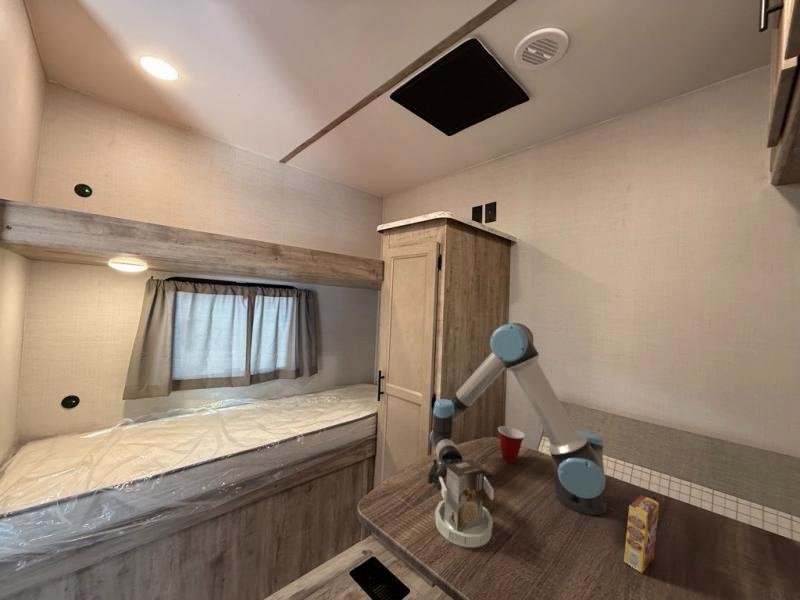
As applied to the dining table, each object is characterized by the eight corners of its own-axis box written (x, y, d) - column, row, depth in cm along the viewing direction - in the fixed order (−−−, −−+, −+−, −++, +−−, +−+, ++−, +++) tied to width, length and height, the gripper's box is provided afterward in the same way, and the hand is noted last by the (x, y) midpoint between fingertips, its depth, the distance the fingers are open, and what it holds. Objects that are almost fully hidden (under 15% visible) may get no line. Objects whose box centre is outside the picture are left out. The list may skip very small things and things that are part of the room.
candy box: (643, 576, 75) (647, 514, 74) (623, 563, 78) (626, 504, 78) (656, 560, 80) (659, 502, 80) (636, 548, 83) (639, 493, 83)
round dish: (479, 505, 97) (479, 496, 97) (501, 546, 81) (502, 535, 81) (430, 506, 95) (431, 497, 95) (443, 548, 79) (443, 537, 79)
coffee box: (467, 510, 93) (471, 458, 93) (482, 524, 87) (485, 469, 87) (443, 518, 89) (446, 464, 89) (456, 534, 83) (460, 476, 83)
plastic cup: (527, 467, 122) (529, 437, 122) (500, 465, 122) (502, 435, 122) (517, 453, 133) (519, 426, 133) (493, 451, 133) (494, 424, 133)
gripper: (482, 466, 107) (510, 507, 86) (413, 466, 105) (424, 509, 83) (483, 445, 107) (512, 481, 86) (414, 444, 105) (426, 482, 83)
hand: (469, 495), depth 85 cm, fingers open, 13 cm apart
